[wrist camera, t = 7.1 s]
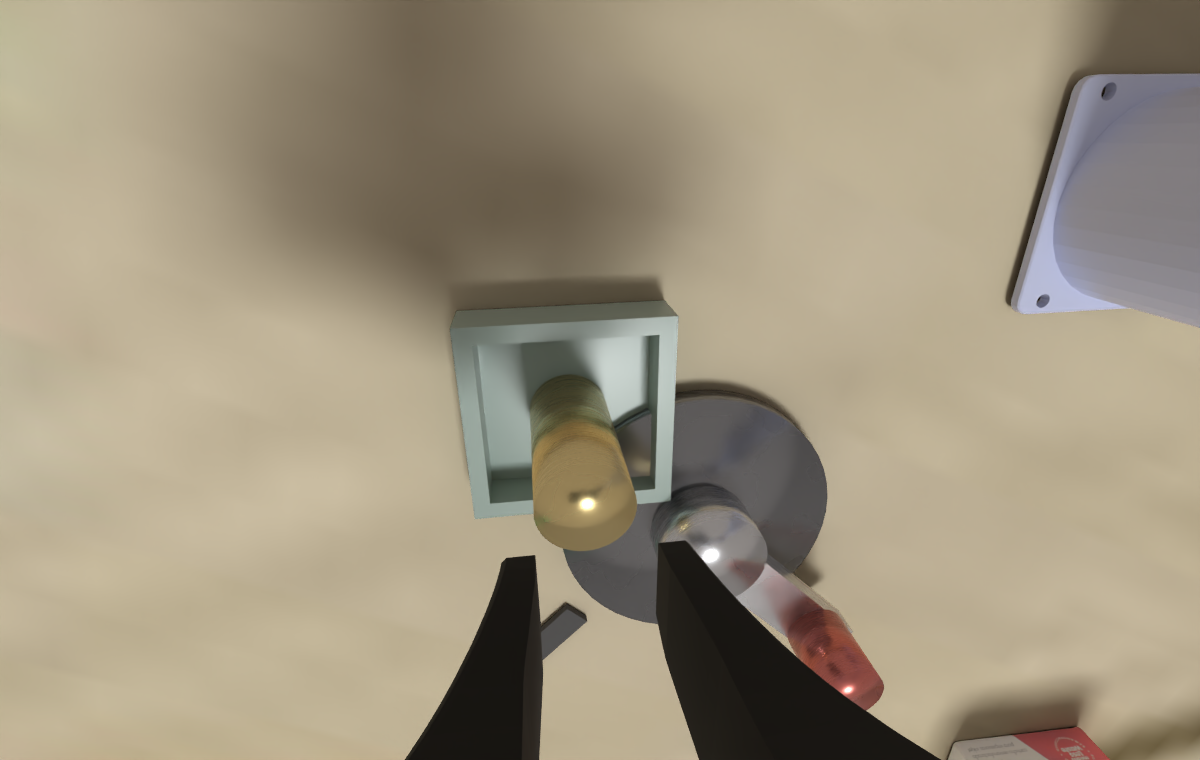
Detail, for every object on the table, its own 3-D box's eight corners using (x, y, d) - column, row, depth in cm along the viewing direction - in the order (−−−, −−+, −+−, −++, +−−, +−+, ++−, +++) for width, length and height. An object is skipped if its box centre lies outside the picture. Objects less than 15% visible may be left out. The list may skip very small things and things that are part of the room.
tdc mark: (566, 603, 25) (567, 609, 24) (586, 616, 25) (587, 621, 25) (507, 656, 25) (507, 662, 25) (527, 667, 26) (527, 673, 26)
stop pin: (614, 382, 20) (649, 473, 15) (595, 448, 21) (621, 556, 16) (539, 367, 20) (546, 457, 14) (522, 436, 21) (523, 544, 15)
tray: (664, 300, 20) (678, 316, 18) (658, 473, 22) (670, 501, 21) (456, 310, 19) (449, 328, 17) (478, 488, 22) (474, 519, 20)
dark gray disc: (833, 380, 22) (847, 391, 21) (798, 593, 26) (807, 609, 25) (553, 400, 21) (554, 412, 20) (565, 619, 25) (567, 638, 24)
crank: (629, 535, 22) (652, 621, 18) (703, 468, 21) (744, 543, 17) (786, 647, 26) (834, 739, 22) (854, 595, 25) (916, 680, 21)
